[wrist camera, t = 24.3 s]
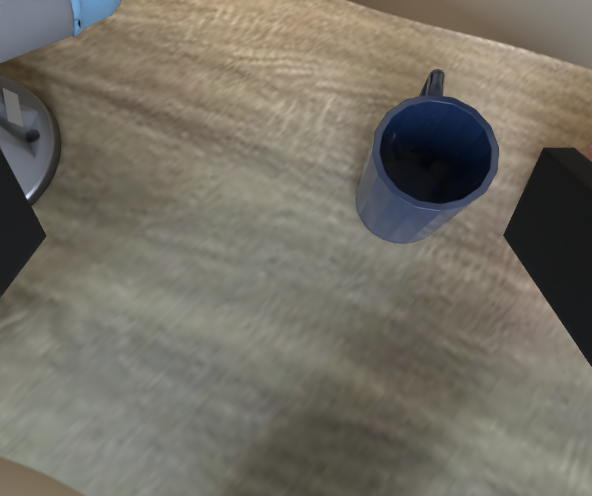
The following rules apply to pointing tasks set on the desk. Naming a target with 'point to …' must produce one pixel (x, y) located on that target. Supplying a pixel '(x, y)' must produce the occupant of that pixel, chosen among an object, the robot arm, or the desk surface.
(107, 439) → the desk surface
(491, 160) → the mug
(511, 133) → the desk surface
